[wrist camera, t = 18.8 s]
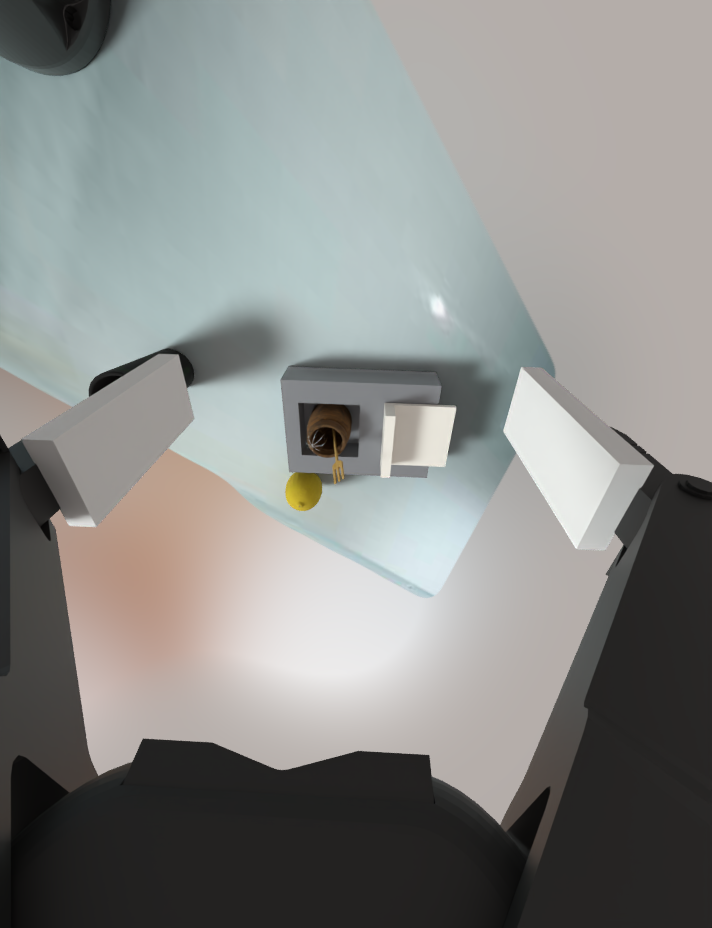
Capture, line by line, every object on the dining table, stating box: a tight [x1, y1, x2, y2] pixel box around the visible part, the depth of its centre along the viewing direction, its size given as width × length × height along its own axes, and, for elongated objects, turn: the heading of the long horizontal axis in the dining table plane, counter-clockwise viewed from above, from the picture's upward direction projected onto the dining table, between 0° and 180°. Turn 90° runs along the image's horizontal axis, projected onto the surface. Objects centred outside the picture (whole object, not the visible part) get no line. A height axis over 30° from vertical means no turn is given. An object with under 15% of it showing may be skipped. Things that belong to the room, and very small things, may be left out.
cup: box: [89, 349, 194, 397], centre depth 46 cm, size 8×8×12 cm
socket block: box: [281, 367, 442, 478], centre depth 51 cm, size 14×20×5 cm
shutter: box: [380, 403, 456, 478], centre depth 47 cm, size 9×9×4 cm
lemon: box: [285, 472, 322, 511], centre depth 56 cm, size 6×6×8 cm
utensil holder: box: [305, 404, 352, 484], centre depth 48 cm, size 6×6×12 cm
